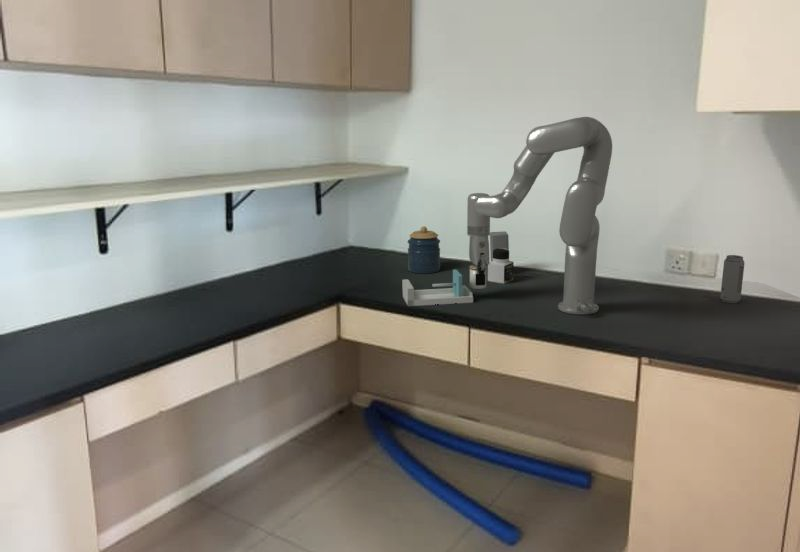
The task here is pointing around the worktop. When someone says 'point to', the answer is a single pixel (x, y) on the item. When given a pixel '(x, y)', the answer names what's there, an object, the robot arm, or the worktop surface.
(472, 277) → the jar
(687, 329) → the worktop surface
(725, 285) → the energy drink can
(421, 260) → the canister
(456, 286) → the pusher
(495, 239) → the skincare box
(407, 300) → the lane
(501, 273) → the medicine bottle
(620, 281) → the worktop surface
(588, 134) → the robot arm
